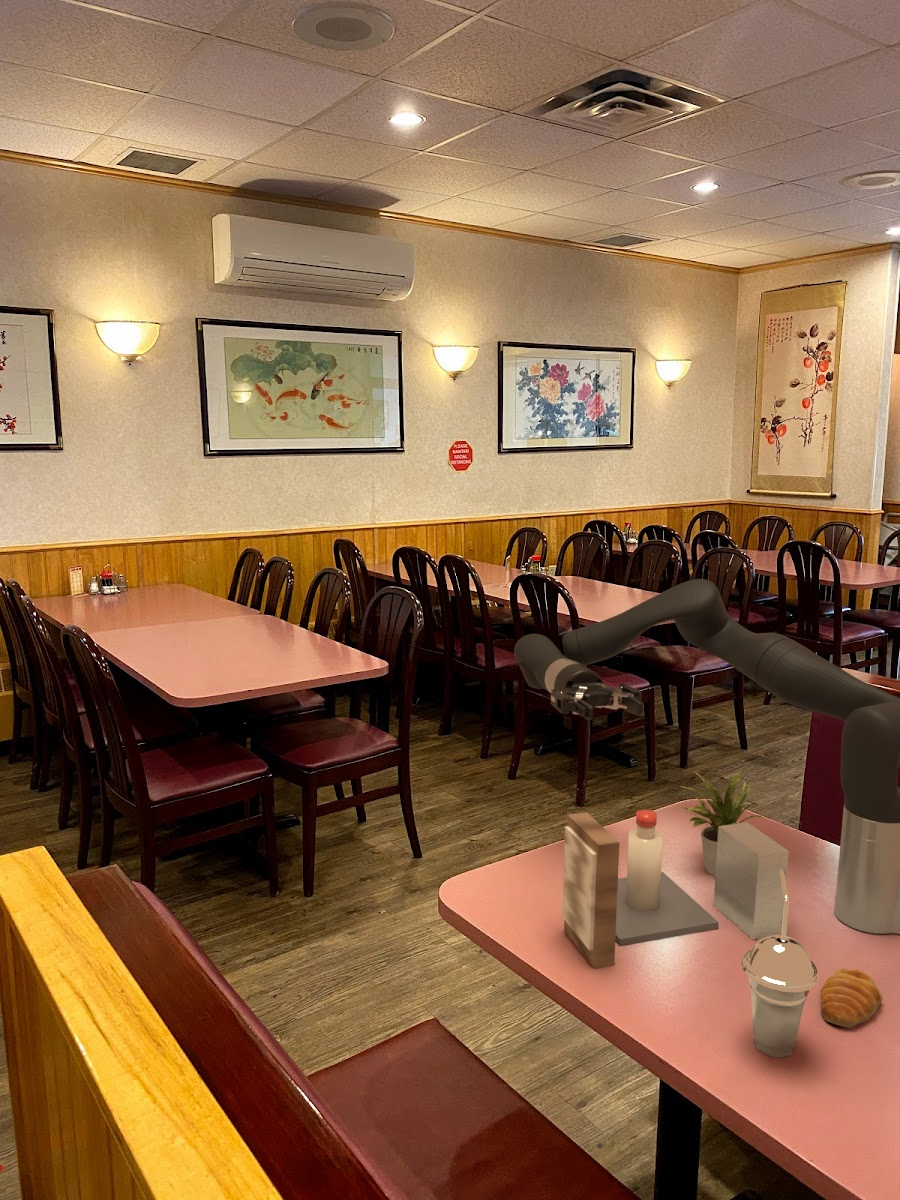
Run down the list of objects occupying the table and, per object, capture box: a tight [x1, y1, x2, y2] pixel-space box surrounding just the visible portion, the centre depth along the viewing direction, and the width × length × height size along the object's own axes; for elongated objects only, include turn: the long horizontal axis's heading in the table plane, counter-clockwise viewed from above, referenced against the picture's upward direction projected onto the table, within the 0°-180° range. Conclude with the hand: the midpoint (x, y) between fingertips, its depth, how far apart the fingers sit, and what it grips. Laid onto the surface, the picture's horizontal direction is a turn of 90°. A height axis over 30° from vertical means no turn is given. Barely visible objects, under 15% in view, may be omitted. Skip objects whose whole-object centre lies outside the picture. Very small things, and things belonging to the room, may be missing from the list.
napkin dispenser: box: [713, 821, 790, 940], centre depth 135 cm, size 10×5×13 cm, turn 17°
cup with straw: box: [741, 870, 819, 1058], centre depth 107 cm, size 8×9×20 cm
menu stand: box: [561, 812, 620, 969], centre depth 127 cm, size 10×4×18 cm, turn 17°
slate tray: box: [615, 871, 719, 946], centre depth 139 cm, size 16×16×1 cm
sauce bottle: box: [626, 809, 664, 912], centre depth 138 cm, size 5×5×14 cm
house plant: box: [678, 770, 764, 877], centre depth 152 cm, size 14×14×16 cm
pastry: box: [820, 968, 884, 1029], centre depth 115 cm, size 9×7×4 cm
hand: (615, 711), depth 145 cm, fingers open, 8 cm apart
